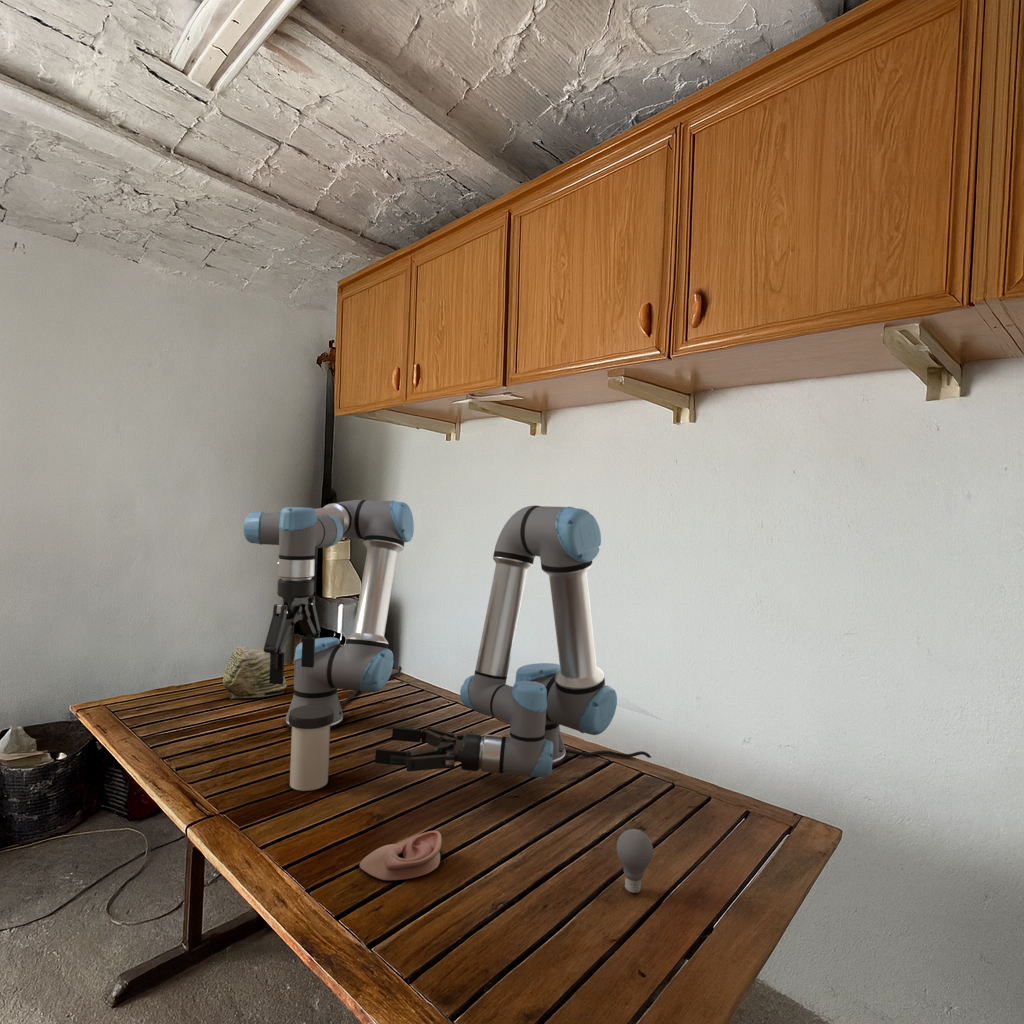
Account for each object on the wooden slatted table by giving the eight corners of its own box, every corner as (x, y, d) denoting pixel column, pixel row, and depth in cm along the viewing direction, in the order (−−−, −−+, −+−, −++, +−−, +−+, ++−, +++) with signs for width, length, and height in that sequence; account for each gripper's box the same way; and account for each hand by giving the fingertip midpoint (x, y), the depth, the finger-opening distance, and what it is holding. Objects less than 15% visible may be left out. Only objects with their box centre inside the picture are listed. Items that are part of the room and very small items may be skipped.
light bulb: (610, 879, 108) (613, 822, 108) (644, 879, 109) (647, 822, 109) (619, 902, 102) (622, 840, 102) (655, 901, 103) (658, 840, 103)
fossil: (218, 695, 195) (220, 647, 195) (278, 685, 208) (279, 640, 207) (228, 703, 189) (230, 653, 188) (289, 692, 201) (290, 645, 201)
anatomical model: (352, 851, 106) (379, 818, 118) (351, 875, 106) (379, 839, 118) (427, 864, 104) (448, 829, 115) (426, 888, 104) (447, 850, 115)
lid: (306, 711, 146) (306, 702, 146) (341, 717, 143) (342, 708, 143) (279, 725, 137) (280, 715, 137) (316, 731, 134) (317, 721, 134)
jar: (304, 771, 145) (307, 705, 145) (335, 778, 143) (338, 710, 143) (281, 786, 138) (284, 716, 137) (313, 793, 135) (316, 722, 135)
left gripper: (307, 570, 151) (304, 659, 151) (247, 584, 126) (243, 689, 127) (337, 572, 150) (333, 661, 150) (282, 586, 125) (278, 693, 126)
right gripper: (472, 795, 124) (366, 785, 126) (486, 749, 149) (397, 741, 151) (475, 757, 124) (369, 747, 126) (488, 717, 149) (399, 709, 151)
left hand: (292, 674), depth 138 cm, fingers open, 13 cm apart
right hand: (384, 744), depth 138 cm, fingers open, 13 cm apart
